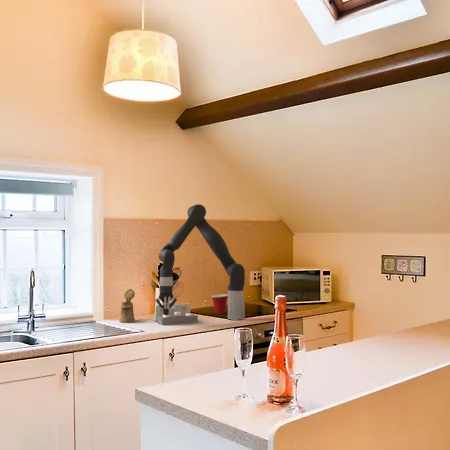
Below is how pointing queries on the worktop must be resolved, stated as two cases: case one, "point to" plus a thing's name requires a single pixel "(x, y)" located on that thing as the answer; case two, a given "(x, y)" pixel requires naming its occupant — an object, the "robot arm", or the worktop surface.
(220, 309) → the plastic cup
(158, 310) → the pattern card
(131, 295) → the brown tapered piece
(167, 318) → the button board
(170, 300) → the robot arm
